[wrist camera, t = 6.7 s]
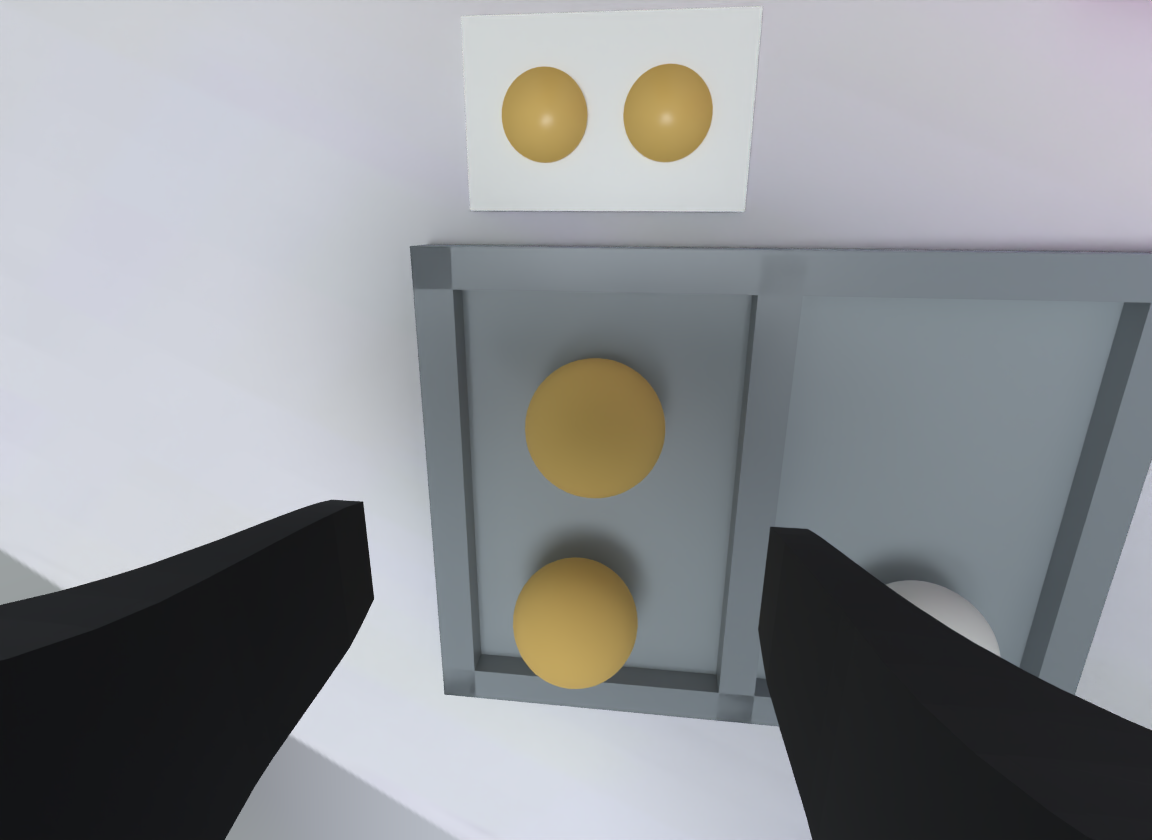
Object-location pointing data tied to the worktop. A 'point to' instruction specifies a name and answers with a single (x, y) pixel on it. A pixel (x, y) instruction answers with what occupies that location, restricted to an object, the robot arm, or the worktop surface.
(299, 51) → the worktop surface
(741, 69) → the card
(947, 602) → the ivory ball
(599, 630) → the amber ball
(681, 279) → the sorting tray
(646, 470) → the amber ball
